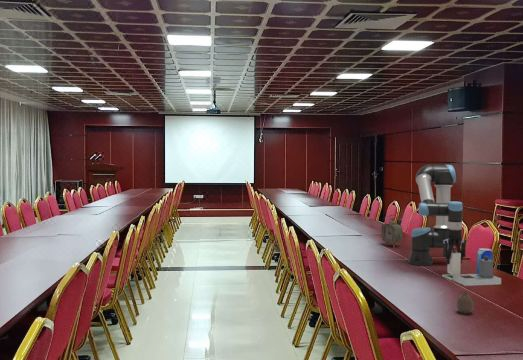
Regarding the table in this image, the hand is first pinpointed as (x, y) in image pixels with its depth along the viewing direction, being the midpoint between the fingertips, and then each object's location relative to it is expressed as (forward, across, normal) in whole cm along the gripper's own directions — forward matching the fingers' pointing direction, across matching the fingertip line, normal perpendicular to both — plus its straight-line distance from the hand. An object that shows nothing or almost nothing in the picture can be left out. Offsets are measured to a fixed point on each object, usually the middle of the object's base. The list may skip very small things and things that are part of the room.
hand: (453, 269), depth 279 cm
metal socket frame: (+5, +6, -12) cm, 15 cm away
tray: (+5, 0, -1) cm, 5 cm away
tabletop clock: (+8, +11, +105) cm, 106 cm away
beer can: (+6, +21, +2) cm, 22 cm away
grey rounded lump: (+4, -29, -58) cm, 65 cm away
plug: (+2, 0, 0) cm, 2 cm away
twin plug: (+4, +12, -12) cm, 17 cm away
